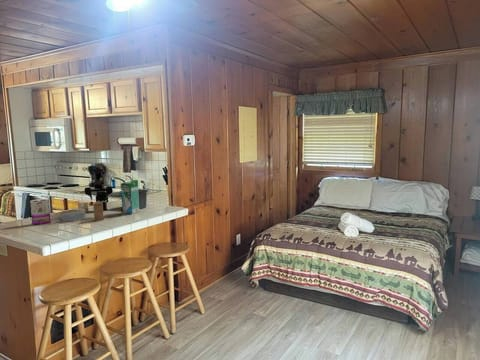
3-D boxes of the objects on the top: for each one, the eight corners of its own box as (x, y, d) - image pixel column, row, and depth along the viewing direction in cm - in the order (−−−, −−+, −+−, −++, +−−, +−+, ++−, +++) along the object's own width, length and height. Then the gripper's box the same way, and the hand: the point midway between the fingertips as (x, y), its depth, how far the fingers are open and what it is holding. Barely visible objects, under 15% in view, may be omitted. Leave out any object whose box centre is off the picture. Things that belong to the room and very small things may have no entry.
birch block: (84, 211, 277) (83, 201, 276) (88, 212, 275) (87, 202, 274) (78, 213, 273) (77, 202, 272) (82, 213, 271) (82, 203, 270)
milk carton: (122, 213, 268) (120, 180, 265) (130, 211, 276) (128, 179, 273) (132, 214, 264) (130, 181, 261) (139, 211, 273) (137, 179, 270)
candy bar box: (51, 221, 245) (49, 198, 243) (50, 223, 241) (48, 199, 239) (32, 223, 240) (30, 199, 238) (31, 225, 236) (29, 201, 234)
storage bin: (119, 208, 288) (117, 191, 286) (131, 204, 302) (130, 188, 300) (140, 210, 280) (139, 192, 278) (152, 206, 294) (151, 189, 292)
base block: (73, 217, 259) (72, 211, 258) (85, 218, 256) (85, 212, 255) (61, 221, 248) (61, 214, 248) (74, 221, 245) (74, 215, 245)
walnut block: (95, 219, 250) (94, 202, 249) (103, 218, 252) (102, 202, 250) (94, 221, 245) (93, 204, 243) (103, 220, 246) (101, 203, 245)
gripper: (83, 176, 254) (83, 193, 245) (111, 175, 259) (111, 192, 250) (85, 185, 262) (85, 203, 253) (112, 184, 268) (112, 201, 259)
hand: (98, 199), depth 254 cm, fingers open, 9 cm apart
